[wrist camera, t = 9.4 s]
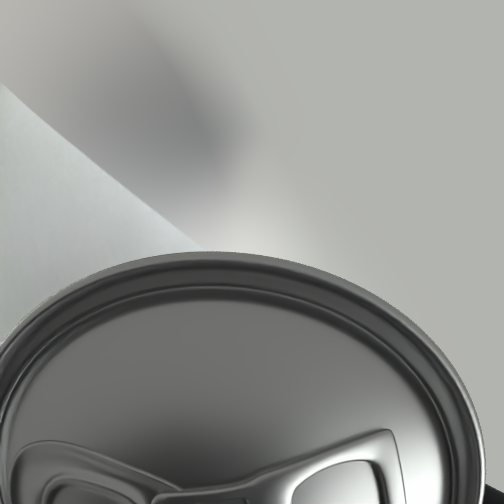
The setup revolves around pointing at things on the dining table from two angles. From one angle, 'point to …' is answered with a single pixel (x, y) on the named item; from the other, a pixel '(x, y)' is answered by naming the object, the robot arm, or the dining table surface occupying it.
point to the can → (230, 392)
